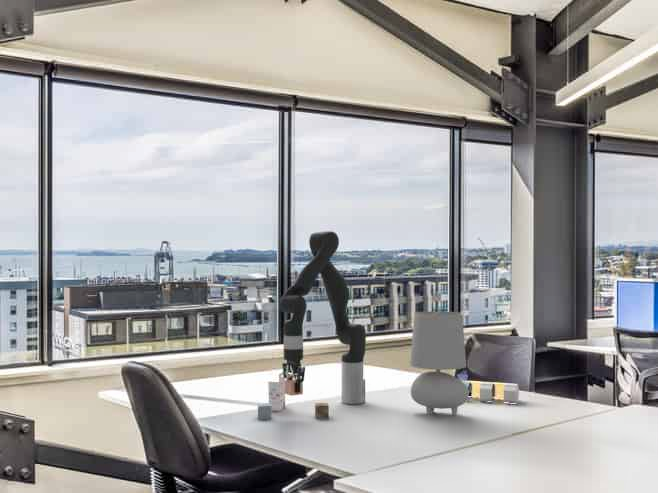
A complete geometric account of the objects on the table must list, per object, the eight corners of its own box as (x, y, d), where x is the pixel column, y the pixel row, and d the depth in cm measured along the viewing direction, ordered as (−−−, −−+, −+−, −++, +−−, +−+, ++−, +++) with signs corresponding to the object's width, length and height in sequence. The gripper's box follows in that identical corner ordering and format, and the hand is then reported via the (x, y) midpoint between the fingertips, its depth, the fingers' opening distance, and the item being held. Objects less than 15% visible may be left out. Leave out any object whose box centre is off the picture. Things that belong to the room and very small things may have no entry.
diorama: (456, 401, 310) (456, 370, 310) (460, 396, 320) (460, 367, 320) (516, 405, 301) (515, 374, 302) (518, 401, 311) (518, 370, 311)
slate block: (271, 416, 281) (271, 403, 281) (271, 419, 276) (271, 406, 276) (258, 416, 280) (258, 403, 280) (257, 419, 275) (257, 406, 275)
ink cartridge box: (273, 406, 299) (273, 370, 299) (285, 406, 298) (285, 370, 298) (267, 410, 290) (267, 373, 290) (279, 411, 289) (279, 374, 289)
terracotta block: (296, 392, 282) (296, 379, 282) (302, 394, 278) (302, 381, 278) (284, 393, 279) (284, 380, 279) (291, 395, 275) (291, 382, 275)
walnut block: (327, 415, 281) (327, 402, 282) (328, 418, 276) (328, 405, 277) (315, 415, 281) (315, 403, 281) (315, 418, 276) (315, 405, 276)
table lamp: (475, 411, 289) (474, 310, 289) (461, 422, 269) (461, 315, 269) (419, 406, 298) (419, 309, 299) (402, 417, 279) (402, 312, 279)
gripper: (311, 348, 275) (311, 393, 275) (292, 344, 287) (293, 387, 287) (294, 350, 271) (294, 395, 271) (275, 345, 283) (276, 389, 283)
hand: (293, 391), depth 279 cm, fingers closed on terracotta block, 5 cm apart
